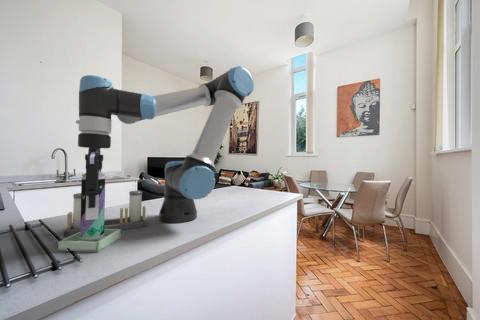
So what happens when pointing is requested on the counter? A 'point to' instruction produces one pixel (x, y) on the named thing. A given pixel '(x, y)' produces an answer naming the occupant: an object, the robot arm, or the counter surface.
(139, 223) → the fuse frame
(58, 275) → the counter surface
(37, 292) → the counter surface
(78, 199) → the fuse
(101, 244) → the tray
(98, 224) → the spray can
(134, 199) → the fuse
